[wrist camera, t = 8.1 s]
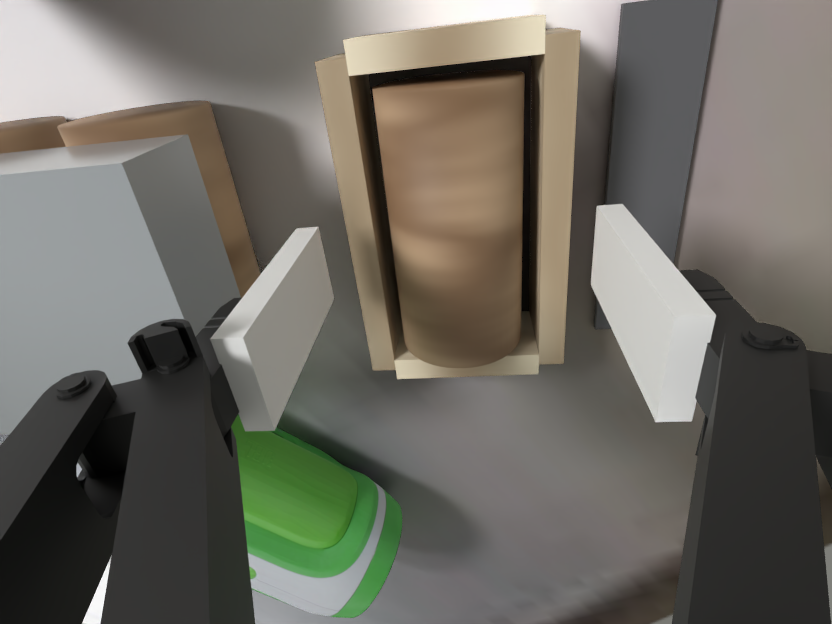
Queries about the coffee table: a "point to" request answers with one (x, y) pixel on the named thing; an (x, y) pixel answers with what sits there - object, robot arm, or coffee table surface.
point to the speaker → (313, 525)
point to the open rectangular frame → (548, 177)
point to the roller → (455, 210)
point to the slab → (100, 260)
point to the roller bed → (153, 124)
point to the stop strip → (656, 113)
